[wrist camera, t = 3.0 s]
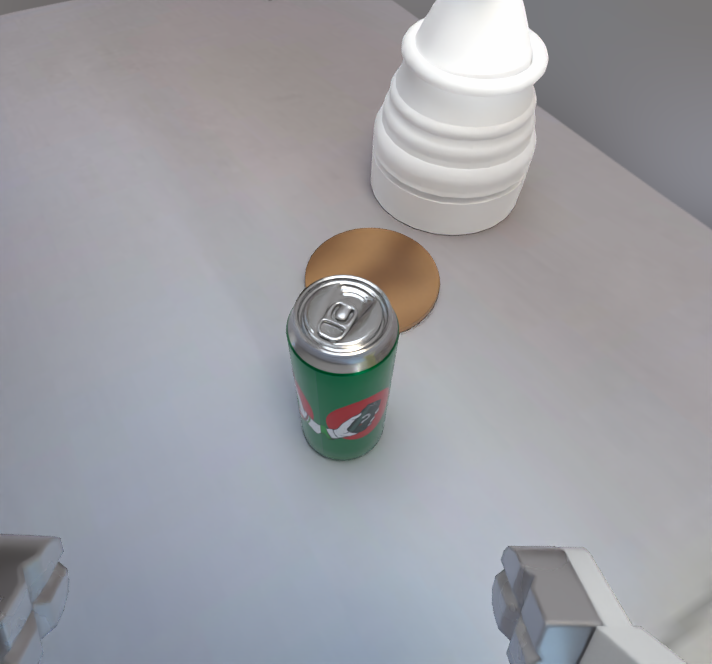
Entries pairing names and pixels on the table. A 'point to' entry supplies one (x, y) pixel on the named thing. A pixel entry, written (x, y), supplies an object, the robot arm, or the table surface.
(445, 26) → the honey pot
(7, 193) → the table surface
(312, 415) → the soda can
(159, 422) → the table surface
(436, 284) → the cork coaster
